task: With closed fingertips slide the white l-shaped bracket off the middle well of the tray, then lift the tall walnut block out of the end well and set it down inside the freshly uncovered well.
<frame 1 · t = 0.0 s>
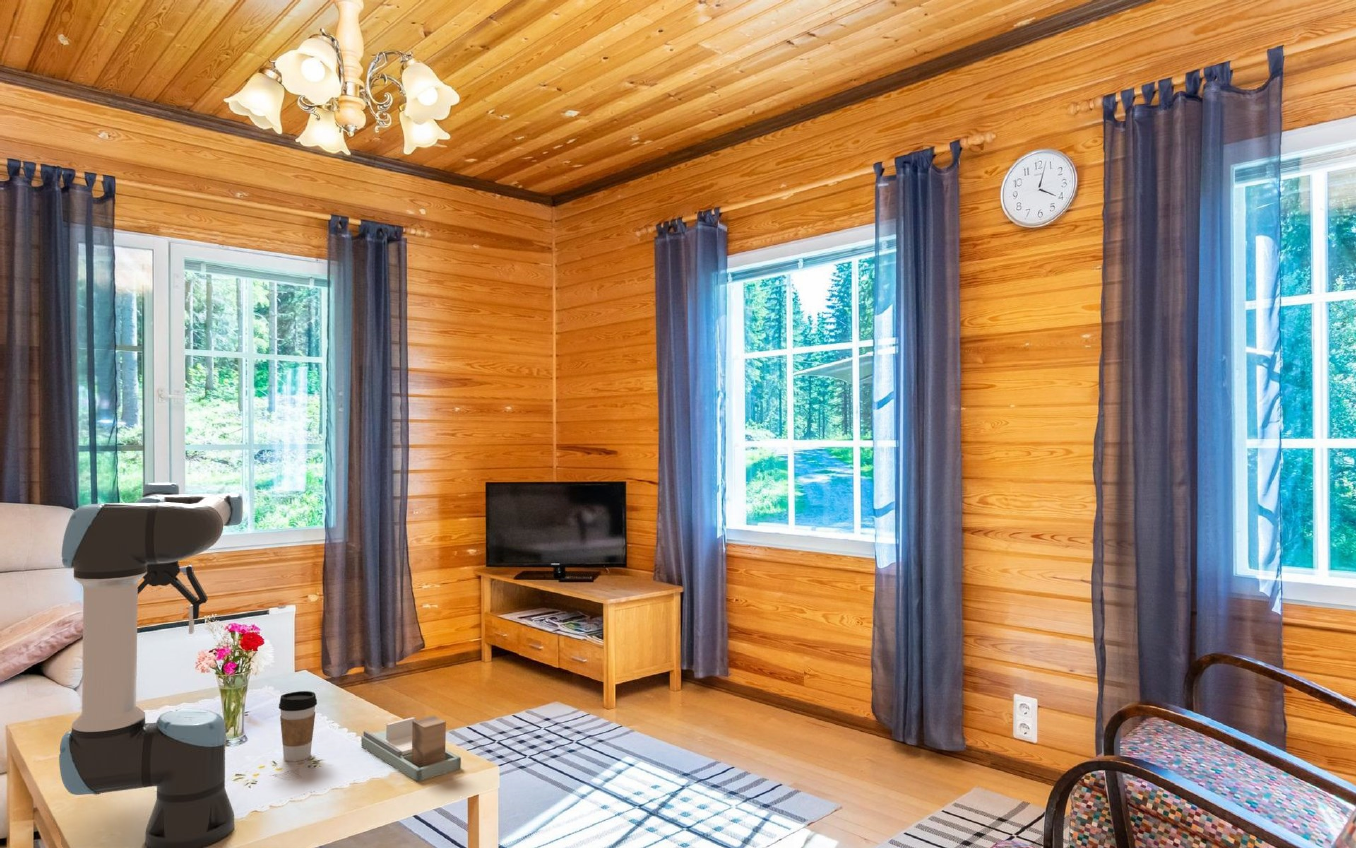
hand: (159, 634, 209), 28 cm above the table, fingers open, 13 cm apart
coffee cup: (297, 757, 207), on the table
tray: (409, 757, 208), on the table
white l-shaped bracket: (408, 735, 208), point 5 cm above the table, slide at 0.0 cm
block: (428, 768, 201), resting in tray
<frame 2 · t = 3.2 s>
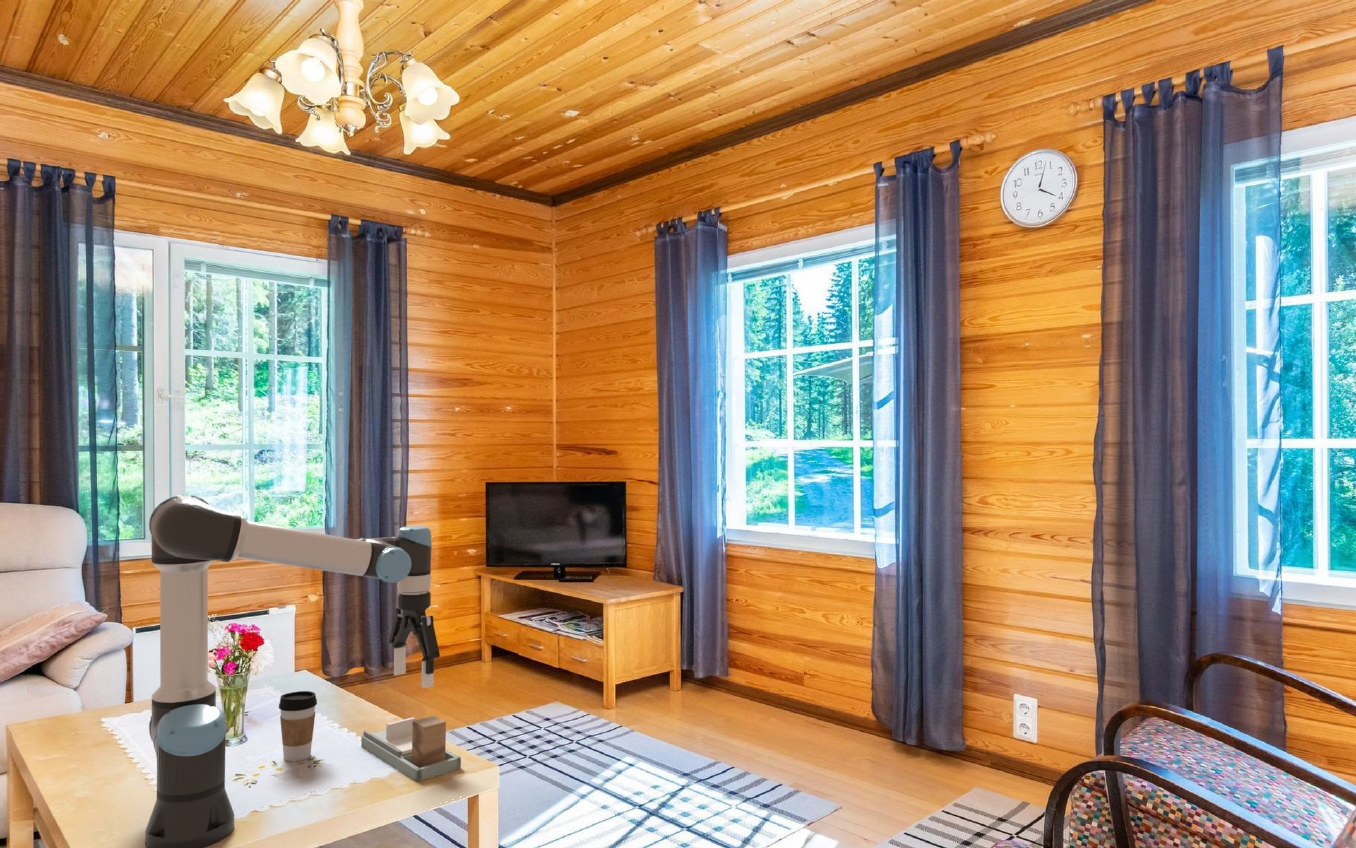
hand: (413, 680, 207), 19 cm above the table, fingers open, 13 cm apart
nothing on the table moved.
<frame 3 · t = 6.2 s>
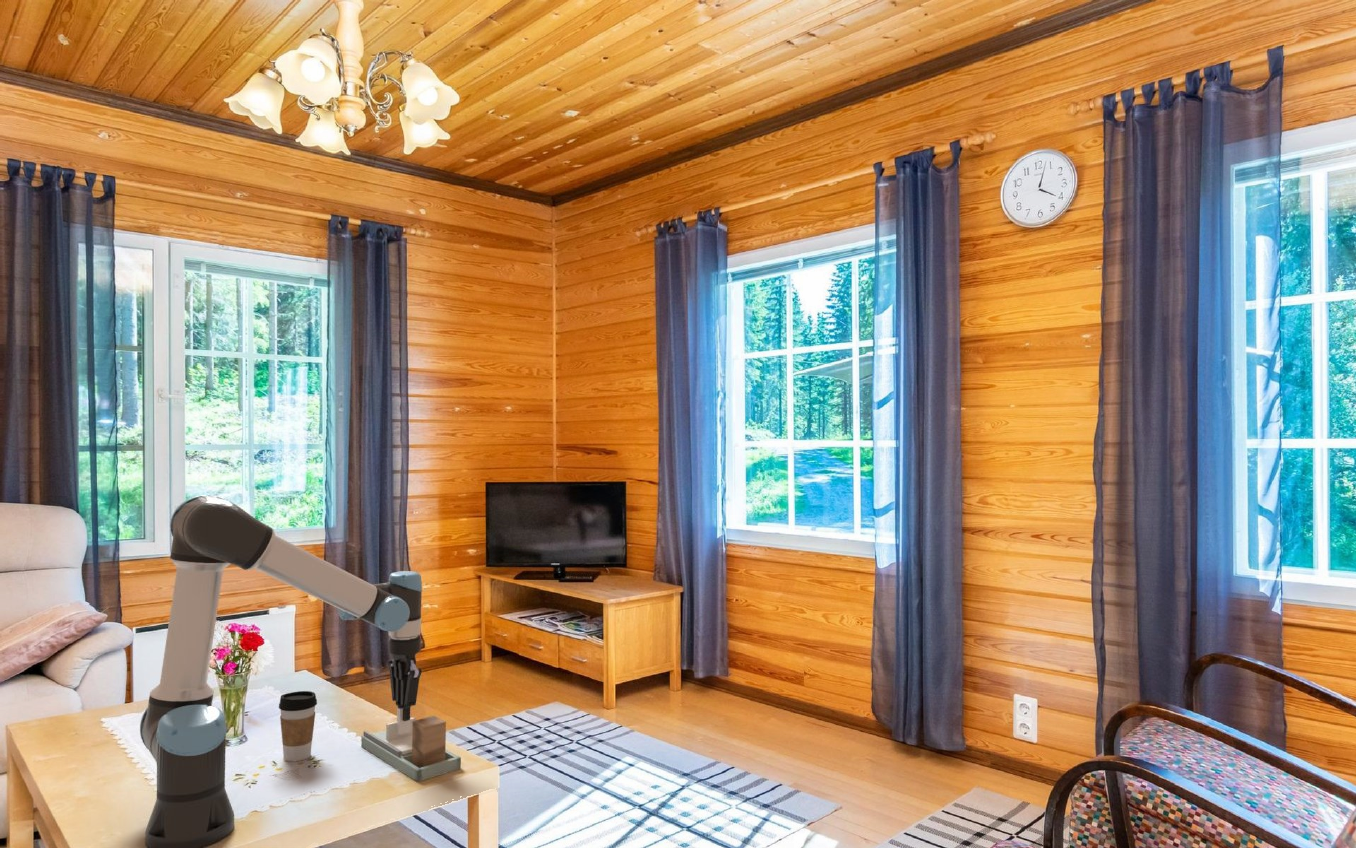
hand: (403, 732, 210), 5 cm above the table, fingers closed
white l-shaped bracket: (408, 735, 208), point 5 cm above the table, slide at 0.1 cm, touching gripper
everything else where it was.
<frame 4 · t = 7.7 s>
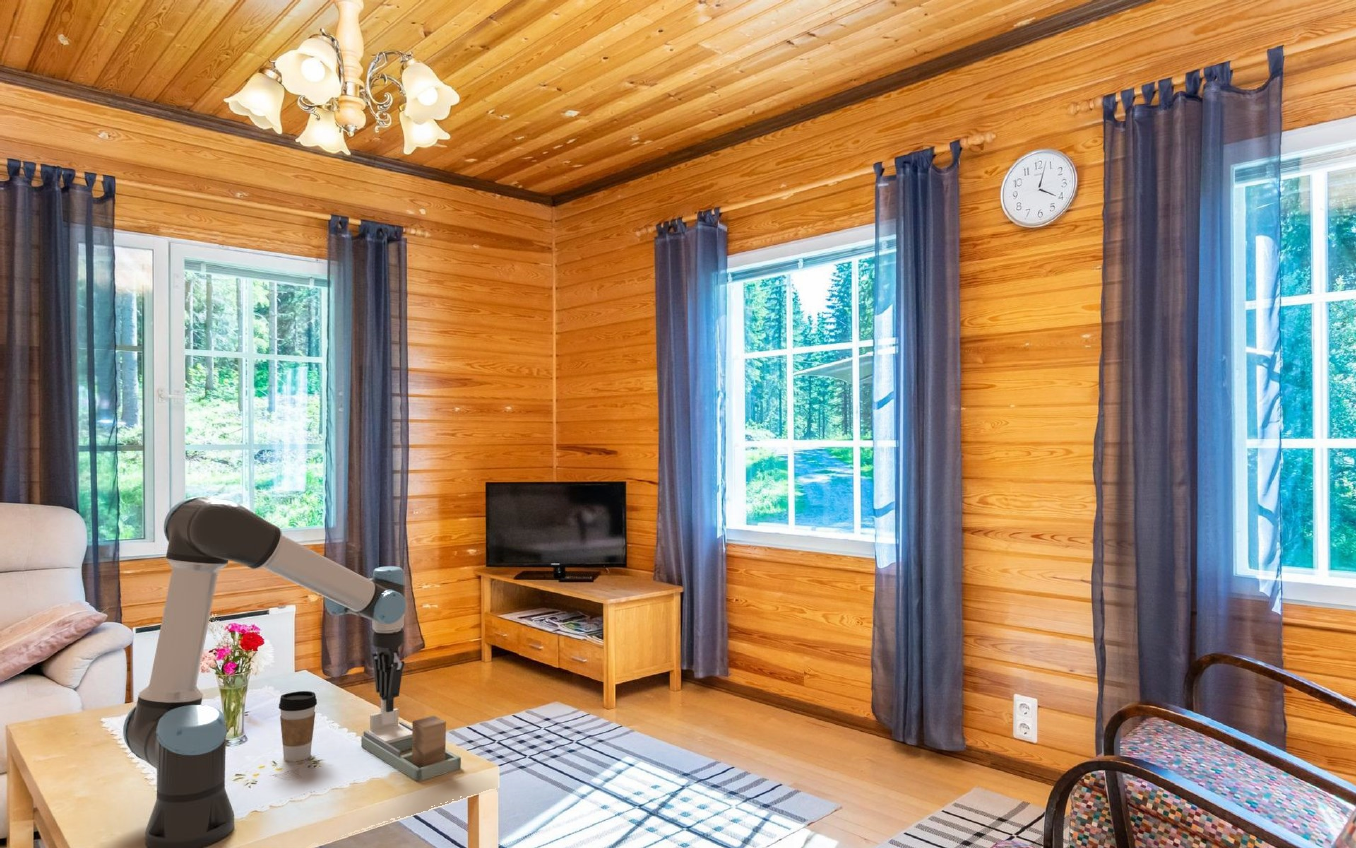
hand: (386, 723, 216), 5 cm above the table, fingers closed
white l-shaped bracket: (391, 725, 214), point 5 cm above the table, slide at 8.6 cm, touching gripper
everything else where it was.
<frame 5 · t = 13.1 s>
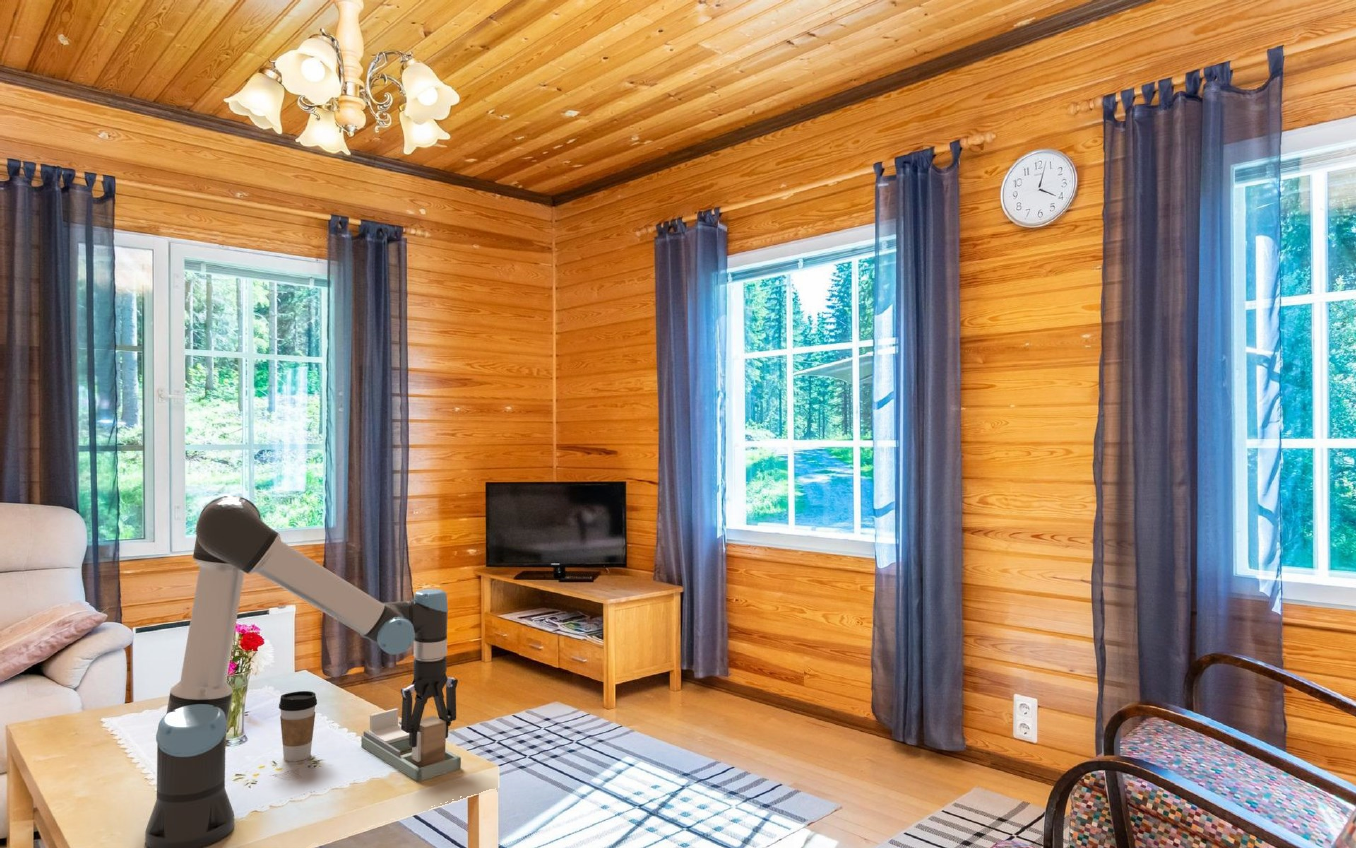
hand: (428, 756, 201), 3 cm above the table, fingers closed on block, 5 cm apart
white l-shaped bracket: (391, 725, 214), point 5 cm above the table, slide at 8.7 cm
block: (428, 768, 201), resting in tray, touching gripper
everything else where it was.
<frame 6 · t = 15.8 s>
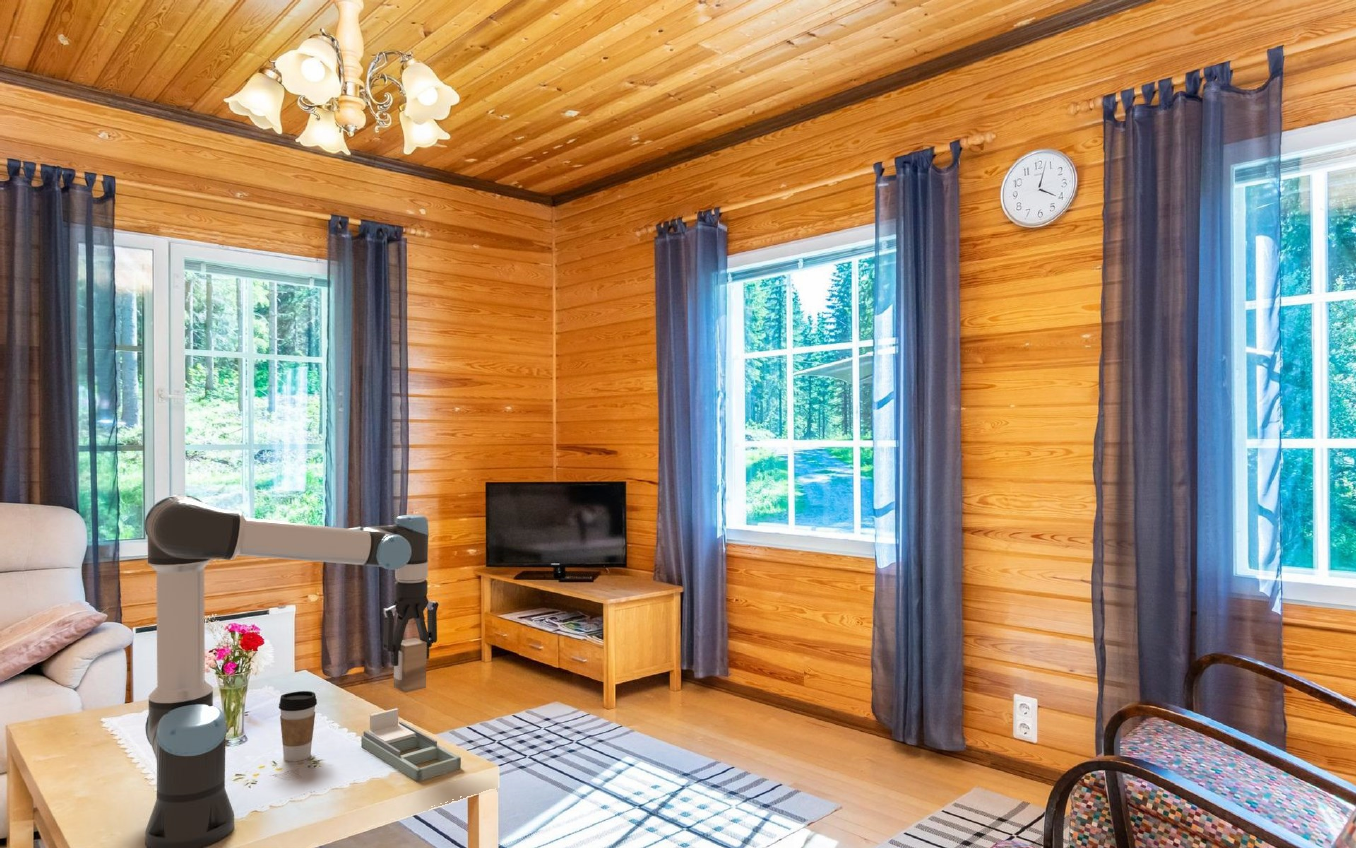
hand: (410, 675, 208), 19 cm above the table, fingers closed on block, 5 cm apart
block: (409, 687, 208), point 17 cm above the table, touching gripper
everything else where it was.
when the fingers open (4 cm above the table, at t = 18.7 s): block drops 2 cm, resting in tray.
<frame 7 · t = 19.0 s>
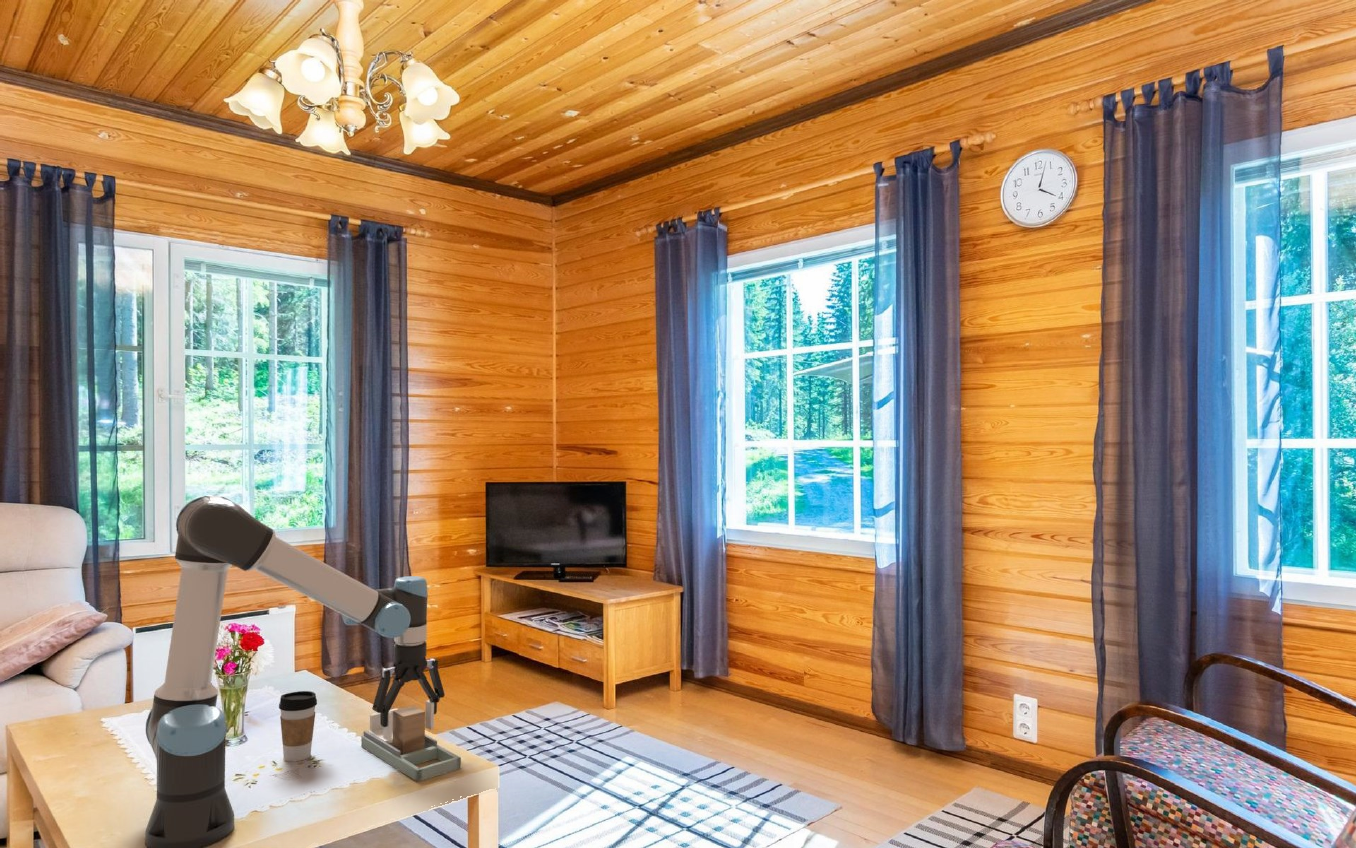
hand: (408, 733, 208), 5 cm above the table, fingers open, 10 cm apart
block: (408, 756, 208), resting in tray
everything else where it was.
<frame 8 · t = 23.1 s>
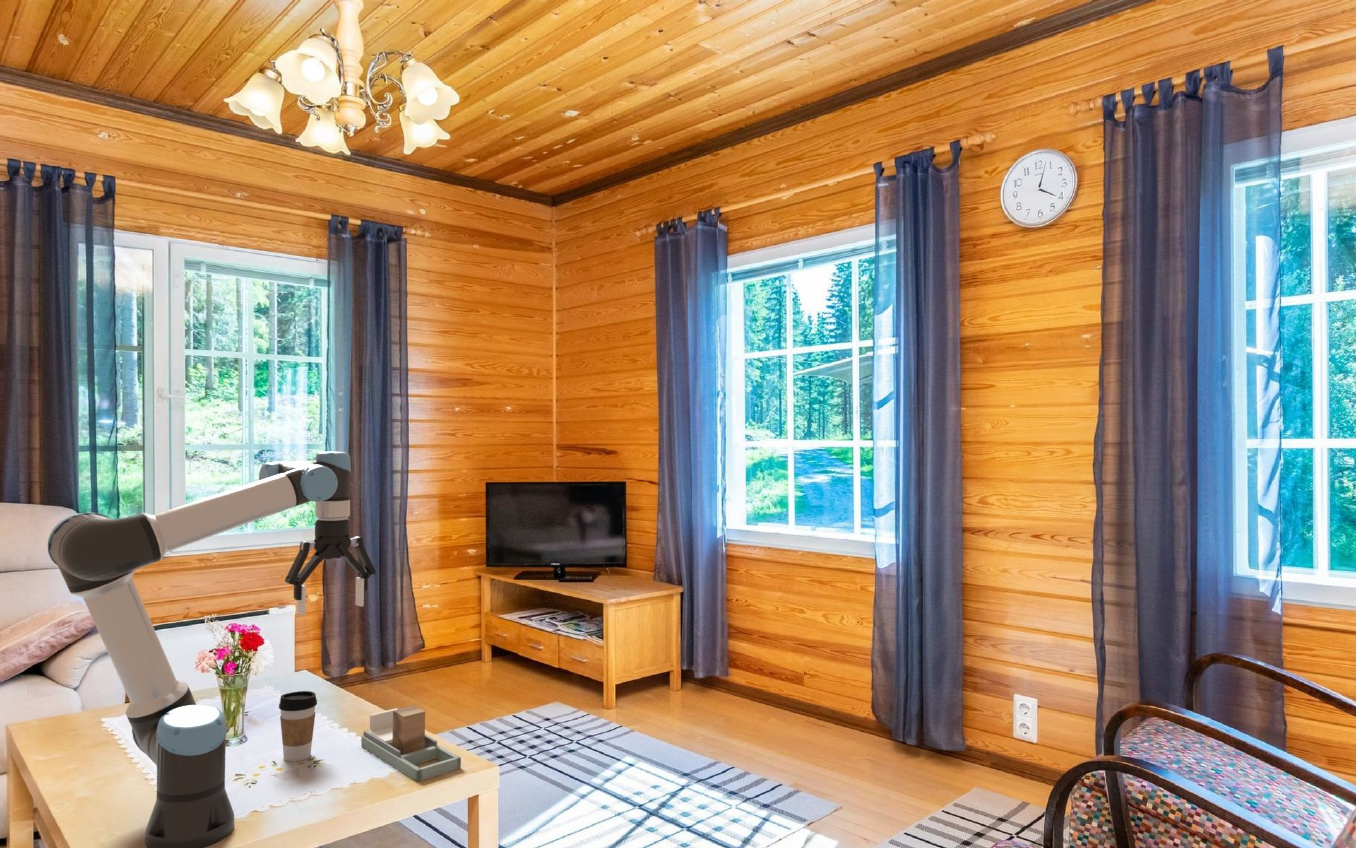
hand: (331, 609, 201), 37 cm above the table, fingers open, 13 cm apart
nothing on the table moved.
at the end: white l-shaped bracket slide at 8.7 cm; block 0.1 cm off-centre on the tray, point 0.0 cm above the tray's base; block tilted 0° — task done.
